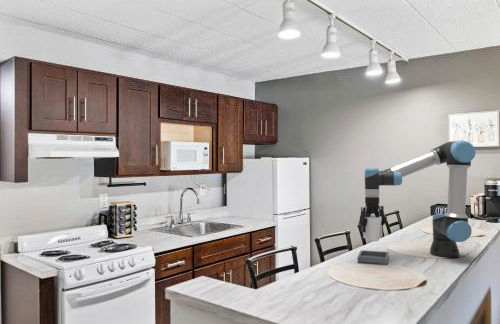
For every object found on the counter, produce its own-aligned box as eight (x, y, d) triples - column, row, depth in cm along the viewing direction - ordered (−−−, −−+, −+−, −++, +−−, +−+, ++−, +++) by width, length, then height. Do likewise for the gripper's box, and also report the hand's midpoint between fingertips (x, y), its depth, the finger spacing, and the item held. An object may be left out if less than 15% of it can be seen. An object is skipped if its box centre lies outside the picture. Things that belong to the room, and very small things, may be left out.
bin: (388, 258, 216) (388, 252, 216) (387, 265, 202) (387, 258, 202) (360, 256, 221) (360, 250, 221) (357, 263, 207) (357, 256, 207)
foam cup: (382, 242, 206) (382, 217, 206) (364, 241, 208) (364, 217, 208) (380, 238, 215) (380, 215, 215) (363, 238, 217) (362, 215, 217)
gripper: (383, 195, 219) (383, 234, 219) (351, 197, 211) (351, 238, 211) (392, 196, 212) (393, 236, 212) (360, 198, 204) (360, 240, 204)
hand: (372, 237), depth 212 cm, fingers closed on foam cup, 9 cm apart
